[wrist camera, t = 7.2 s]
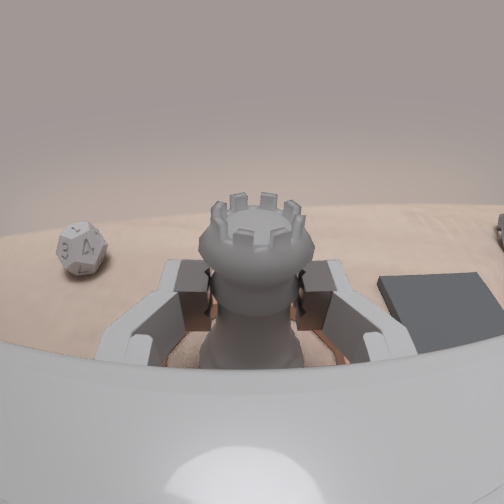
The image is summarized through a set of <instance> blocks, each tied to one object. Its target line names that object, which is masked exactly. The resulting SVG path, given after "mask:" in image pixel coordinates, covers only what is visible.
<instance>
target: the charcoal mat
mask: <svg viewBox="0 0 504 504" xmlns="http://www.w3.org/2000/svg"><path fill="white" fill-rule="evenodd" d="M377 285H378V287H379V289H380V291H381V293H382V296H383V298H384V300H385V302H386V304H387V306H388V309H389V311H390V313H391V315H392V317H393V318H394V319H395V320H397V321H398V322H399V323H401V324H402V325H403V326H405V327H406V328H407V330H408V332H409V335H410V337H411V339H412V341H413V344H414V346H415V348H416V351H417V353H418V354H423V353H429V352H434V351H439V350H444V349H449V348H453V347H458V346H462V345H466V344H471V343H475V342H479V341H483V340H486V339H490V338H494V337H498V336H501V335H504V310H503V309H502V307H501V306H500V304H499V303H498V301H497V300H496V298H495V297H494V296H493V294H492V293H491V291H490V290H489V288H488V287H487V286H486V284H485V283H484V282H483V280H482V279H481V277H480V276H479V275H478V273H477V272H472V273H452V274H430V275H404V276H379V279H378V282H377Z"/></svg>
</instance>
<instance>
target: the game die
mask: <svg viewBox="0 0 504 504" xmlns="http://www.w3.org/2000/svg"><path fill="white" fill-rule="evenodd" d="M107 246H108V244H107V243H106V241H105V240H104V238H103V236H102V235H101V233H100V232H99V230H98V229H96V228H95V227H94V226H93V225H92V224H91V223H89V222H88V221H84V222H79V223H73V224H70V225H69V226H68V227H67V228H66V229H65V230H64V231H63V232H62V234H61V235H60V237H59V242H58V246H57V251H56V254H57V256H58V258H59V260H60V262H61V263H62V265H63V267H64V269H65V270H67V271H69V272H70V273H72V274H74V275H76V276H82V275H89V274H95V272H96V271H97V269H98V268H99V266H100V265H101V263H102V261H103V259H104V255H105V252H106V249H107Z"/></svg>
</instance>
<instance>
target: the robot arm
mask: <svg viewBox="0 0 504 504" xmlns="http://www.w3.org/2000/svg"><path fill="white" fill-rule="evenodd" d="M211 276H212V268H211V267H210V266H208V265H207V264H206V262H205V261H204V260H177V259H168V260H167V261H166V263H165V266H164V269H163V273H162V276H161V279H160V283H159V286H158V289H157V291H153V292H151V293H150V294H149V295H147V296H146V297H145V298H144V299H142V300H141V301H140V302H139V303H137V304H136V305H135V306H134V307H132V308H131V309H130V310H129V311H127V312H126V313H125V314H124V315H122V316H121V317H120V318H119V319H117V320H116V321H115V322H114V323H112V324H111V325H110V326H109V327H108V328H106V329H105V330H104V332H103V335H102V338H101V340H100V343H99V346H98V349H97V352H96V355H95V358H94V359H88V358H82V357H76V356H70V355H64V354H58V353H53V352H48V351H43V350H38V349H34V348H29V347H25V346H20V345H16V344H12V343H8V342H4V341H0V504H504V335H501V336H498V337H494V338H490V339H486V340H483V341H479V342H475V343H471V344H466V345H462V346H458V347H453V348H449V349H444V350H439V351H434V352H429V353H423V354H418V353H417V351H416V348H415V346H414V344H413V341H412V339H411V337H410V335H409V332H408V330H407V328H406V327H405V326H403V325H402V324H401V323H399V322H398V321H397V320H395V319H394V318H393V317H391V316H390V315H389V314H387V313H386V312H385V311H383V310H382V309H381V308H379V307H378V306H377V305H375V304H374V303H373V302H371V301H370V300H369V299H367V298H366V297H364V296H363V295H362V294H360V293H359V292H358V291H353V290H352V288H351V285H350V283H349V280H348V278H347V275H346V273H345V271H344V268H343V266H342V263H341V261H340V260H325V261H310V262H309V263H308V264H307V265H306V266H305V267H304V268H303V269H302V270H301V271H300V272H298V273H297V277H298V280H299V283H300V289H299V293H298V297H297V299H296V300H295V301H294V302H293V307H295V308H296V313H295V319H296V324H297V329H298V331H308V330H322V332H323V333H324V334H325V336H326V337H327V338H328V339H329V340H330V341H331V342H332V343H333V344H334V345H335V346H336V348H337V349H338V350H339V351H340V352H341V353H342V354H343V355H344V356H345V357H346V359H347V360H348V361H349V362H350V364H345V365H334V366H322V367H307V368H289V369H256V370H224V369H191V368H173V367H163V366H162V364H161V362H162V361H163V359H164V358H165V357H166V356H167V355H168V353H169V352H170V351H171V350H172V349H173V348H174V346H175V345H176V344H177V343H178V342H179V340H180V339H181V338H182V337H183V336H184V334H185V333H186V331H211V323H212V309H211V308H212V307H213V295H212V293H211V291H210V278H211Z"/></svg>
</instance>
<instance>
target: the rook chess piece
mask: <svg viewBox="0 0 504 504" xmlns="http://www.w3.org/2000/svg"><path fill="white" fill-rule="evenodd" d="M247 200H248V196H247V195H246V193H245V192H243V193H239V194H234V195H230V209H229V210H227V203H224V202H220V201H217V202H216V204H215V205H214V206H213V207H212V208H211V218H210V220H211V224H210V226H209V227H208V228H207V229H206V230H205V232H204V233H203V234H202V235H201V237H200V238H199V249H198V251H199V253H200V254H201V256H202V258H203V259H204V261H205V262H206V264H207V265H208V266H210V267H211V268H212V269H213V270H214V273H213V274H212V276H211V278H210V291H211V293H212V295H213V296H214V298H215V300H216V301H217V303H218V306H217V314H216V323H215V324H214V326H213V328H212V330H211V331H210V332H209V333H208V335H207V337H206V339H205V340H204V342H203V344H202V346H201V349H200V359H199V369H224V370H256V369H289V368H303V364H304V359H303V354H302V350H301V346H300V342H299V340H298V339H297V338H296V336H295V333H294V331H293V330H292V329H291V320H290V306H291V304H292V303H293V302H294V301H295V300H296V299H297V297H298V293H299V289H300V283H299V280H298V277H297V273H298V272H300V271H301V270H302V269H303V268H304V267H305V266H306V265H307V264H308V263H309V262H310V261H312V258H313V253H314V249H315V246H314V244H313V242H312V239H311V237H310V235H309V233H308V232H307V231H306V229H305V228H304V225H305V218H306V215H300V214H301V206H300V205H298V204H297V203H295V202H294V201H292V200H289V201H286V202H284V211H283V210H280V209H277V208H276V207H277V194H271V193H265V192H261V200H260V206H247Z"/></svg>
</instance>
